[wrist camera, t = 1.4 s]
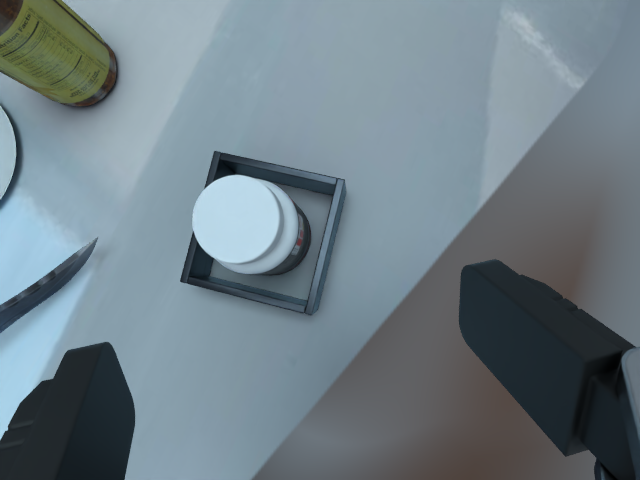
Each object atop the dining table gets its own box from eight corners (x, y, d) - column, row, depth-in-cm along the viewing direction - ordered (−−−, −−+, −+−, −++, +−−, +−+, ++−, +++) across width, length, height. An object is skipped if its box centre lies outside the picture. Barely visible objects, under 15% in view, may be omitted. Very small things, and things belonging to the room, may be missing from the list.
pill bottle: (314, 201, 32) (295, 167, 22) (308, 277, 32) (286, 278, 22) (239, 196, 33) (188, 162, 23) (232, 271, 32) (177, 269, 22)
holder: (346, 191, 32) (344, 179, 28) (317, 310, 31) (311, 315, 27) (231, 165, 33) (214, 150, 29) (201, 281, 32) (179, 281, 28)
